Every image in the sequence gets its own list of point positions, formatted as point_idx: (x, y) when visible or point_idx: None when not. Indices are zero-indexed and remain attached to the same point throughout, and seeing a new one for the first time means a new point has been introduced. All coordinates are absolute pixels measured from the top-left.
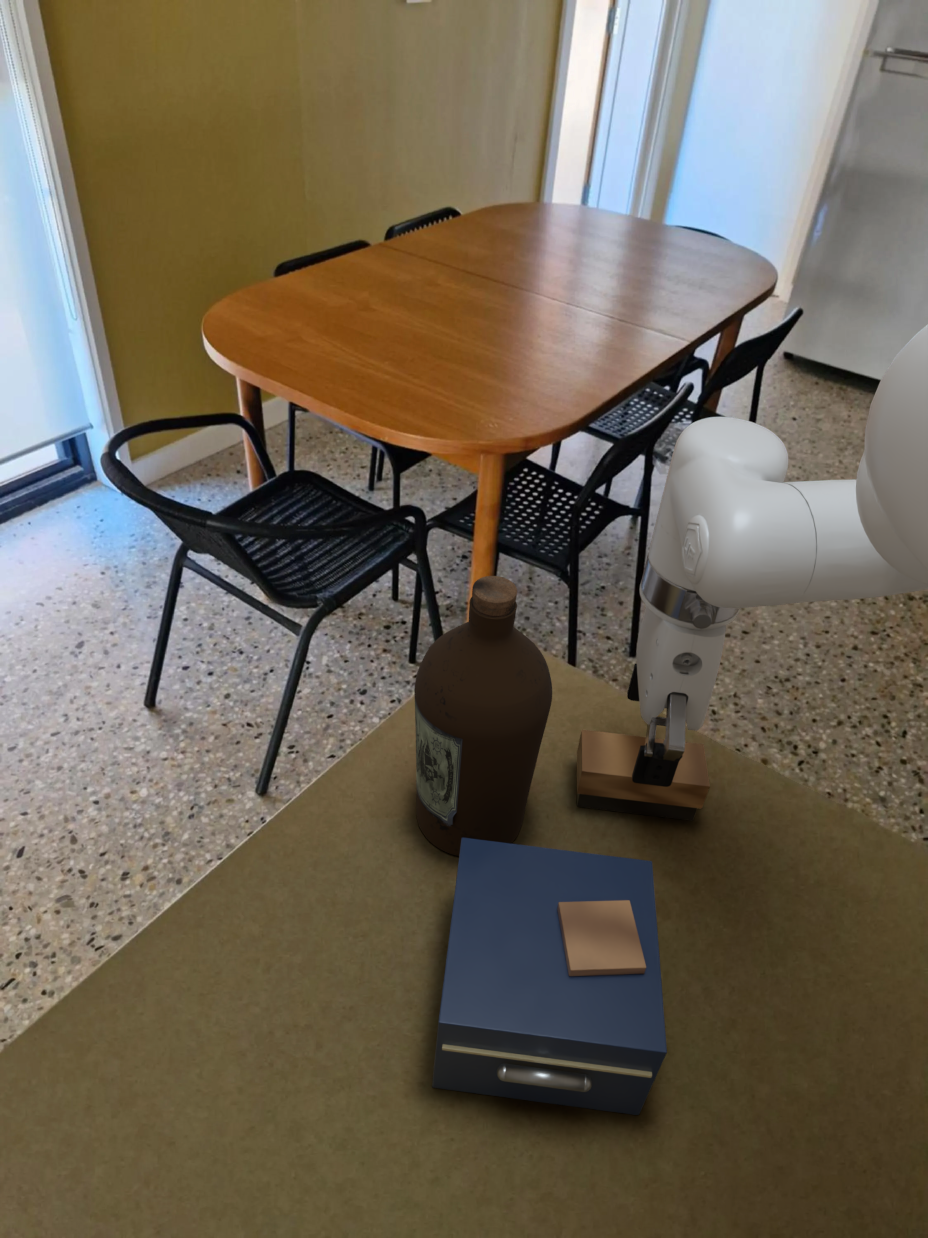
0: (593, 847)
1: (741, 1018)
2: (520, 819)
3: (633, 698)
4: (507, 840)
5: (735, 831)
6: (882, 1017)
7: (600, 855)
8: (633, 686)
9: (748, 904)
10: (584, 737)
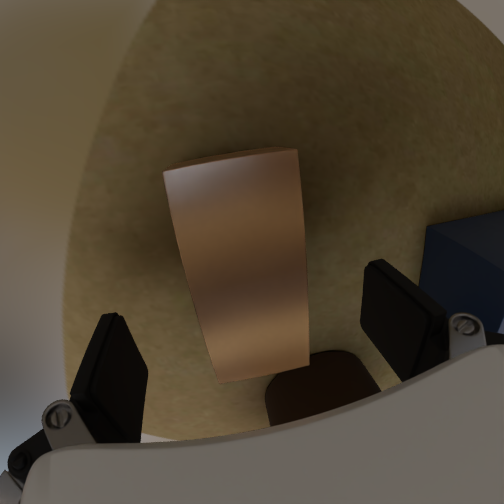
0: (340, 280)
1: (473, 125)
2: (351, 371)
3: (145, 368)
4: (358, 362)
5: (266, 84)
6: (441, 5)
7: (498, 332)
8: (143, 401)
9: (382, 85)
10: (236, 378)
